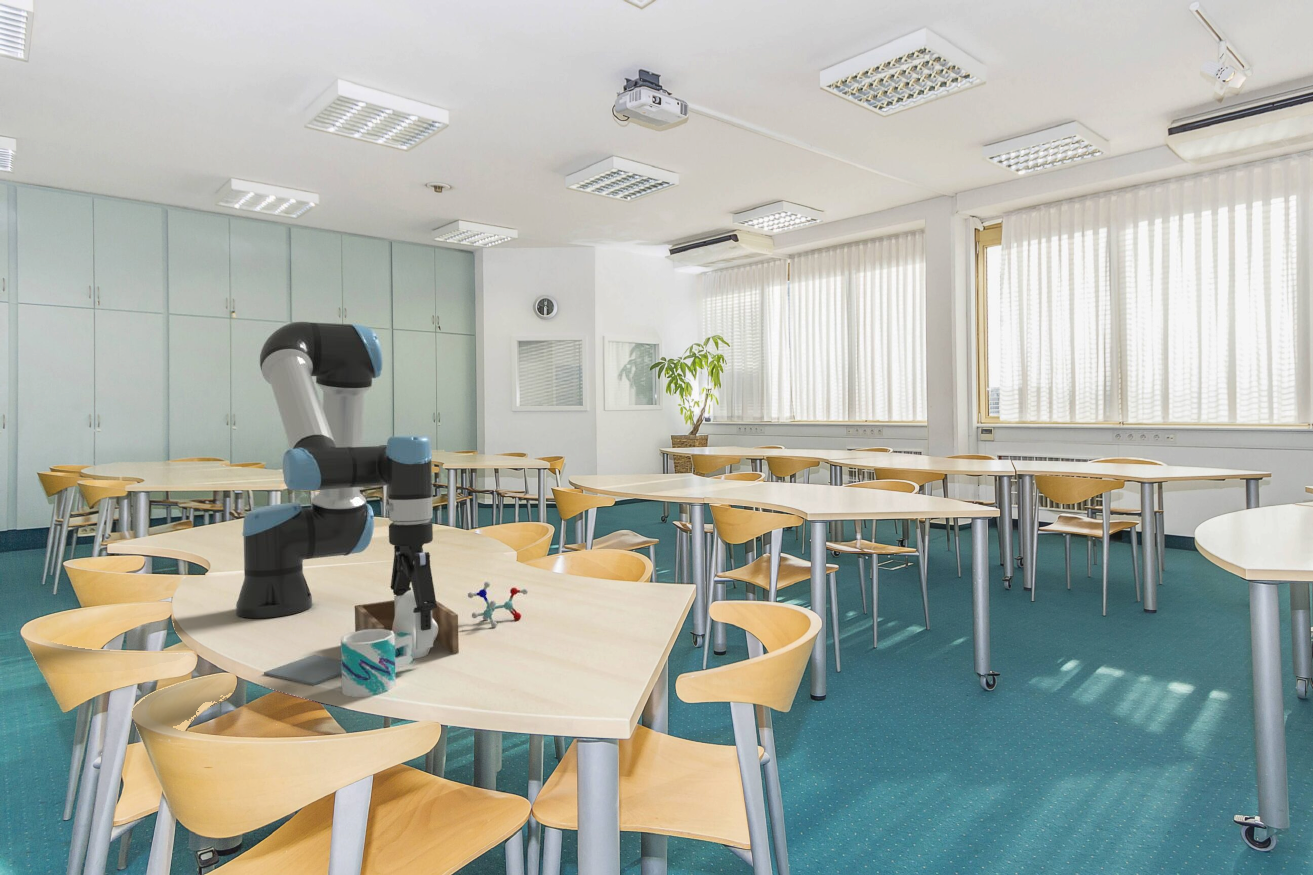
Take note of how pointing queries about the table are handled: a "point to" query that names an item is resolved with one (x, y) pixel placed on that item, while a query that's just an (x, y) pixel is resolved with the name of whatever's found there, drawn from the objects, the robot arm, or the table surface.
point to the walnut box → (384, 615)
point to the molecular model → (491, 606)
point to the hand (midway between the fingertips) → (413, 638)
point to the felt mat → (308, 670)
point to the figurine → (410, 622)
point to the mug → (373, 660)
